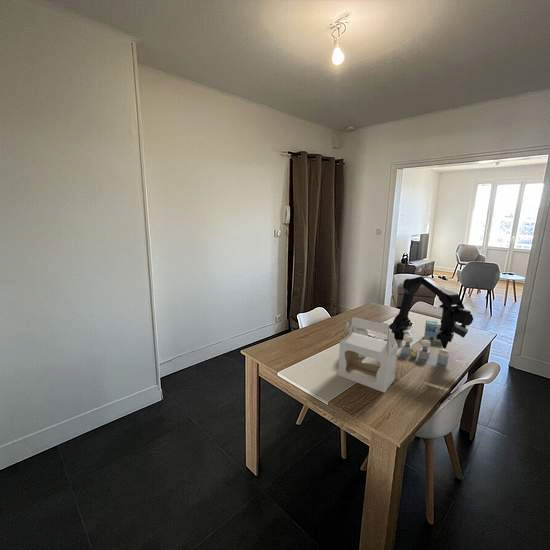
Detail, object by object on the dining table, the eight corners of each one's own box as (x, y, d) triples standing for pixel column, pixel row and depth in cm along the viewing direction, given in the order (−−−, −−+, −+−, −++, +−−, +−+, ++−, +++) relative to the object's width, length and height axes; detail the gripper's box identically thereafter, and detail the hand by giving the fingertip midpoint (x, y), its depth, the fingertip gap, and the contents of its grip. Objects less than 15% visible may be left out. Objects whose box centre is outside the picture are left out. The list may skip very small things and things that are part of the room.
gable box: (395, 380, 135) (400, 322, 129) (385, 393, 124) (391, 331, 119) (349, 364, 148) (352, 311, 143) (337, 375, 138) (340, 318, 132)
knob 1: (401, 347, 158) (402, 337, 157) (404, 344, 161) (405, 334, 160) (410, 349, 155) (411, 339, 154) (412, 346, 159) (413, 336, 157)
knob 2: (436, 361, 148) (438, 351, 147) (438, 358, 152) (439, 348, 150) (446, 364, 146) (448, 353, 144) (448, 361, 149) (449, 350, 148)
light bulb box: (424, 339, 178) (426, 323, 176) (423, 335, 184) (425, 319, 182) (444, 342, 174) (447, 325, 172) (443, 338, 180) (445, 321, 178)
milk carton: (366, 353, 161) (369, 319, 157) (366, 358, 154) (368, 324, 150) (353, 351, 163) (355, 318, 159) (352, 356, 156) (354, 322, 152)
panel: (396, 357, 156) (397, 348, 155) (402, 348, 166) (403, 340, 165) (448, 371, 142) (449, 362, 141) (451, 361, 152) (453, 352, 151)
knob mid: (419, 351, 153) (420, 341, 152) (421, 348, 156) (422, 338, 155) (428, 354, 150) (429, 343, 149) (430, 350, 153) (431, 340, 152)
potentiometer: (409, 358, 153) (410, 350, 152) (411, 356, 155) (411, 348, 154) (415, 359, 151) (416, 352, 150) (417, 357, 153) (418, 350, 153)
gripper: (465, 328, 132) (461, 360, 135) (469, 316, 146) (465, 346, 150) (437, 322, 139) (434, 353, 142) (444, 312, 153) (440, 340, 156)
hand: (444, 348), depth 147 cm, fingers closed
